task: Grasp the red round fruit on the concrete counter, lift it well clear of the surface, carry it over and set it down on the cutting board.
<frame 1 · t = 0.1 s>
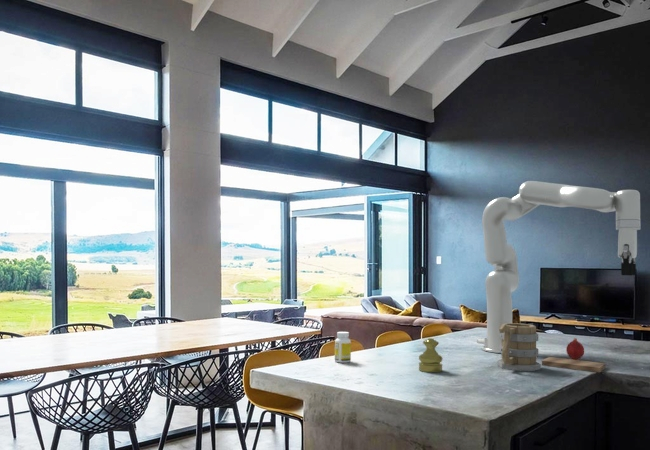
hand: (628, 275, 191), 31 cm above the kitchen island, fingers open, 9 cm apart
tankard: (513, 369, 181), on the kitchen island
supplement bottle: (342, 362, 187), on the kitchen island
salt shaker: (430, 371, 175), on the kitchen island
red round fruit: (575, 361, 197), on the kitchen island
cutting board: (573, 366, 187), on the kitchen island
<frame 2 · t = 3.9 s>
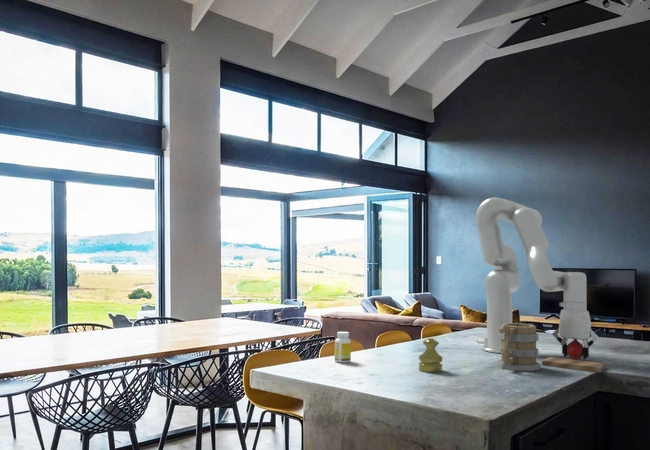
hand: (575, 357, 197), 1 cm above the kitchen island, fingers closed on red round fruit, 5 cm apart
red round fruit: (575, 361, 197), on the kitchen island, touching gripper
everything else where it was.
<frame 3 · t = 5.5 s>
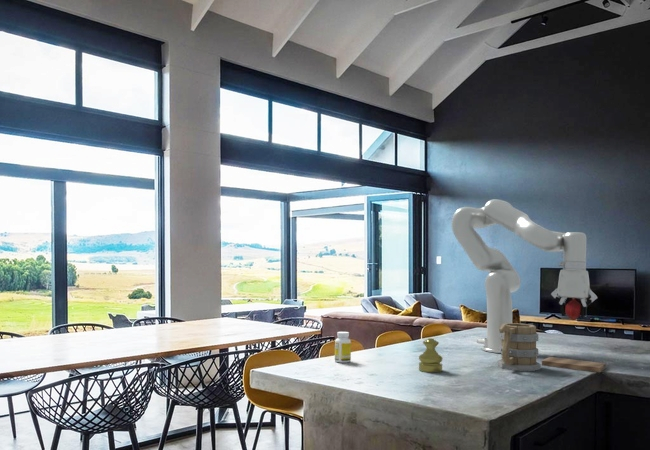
hand: (573, 316, 199), 16 cm above the kitchen island, fingers closed on red round fruit, 5 cm apart
red round fruit: (573, 320, 199), point 14 cm above the kitchen island, touching gripper
everything else where it was.
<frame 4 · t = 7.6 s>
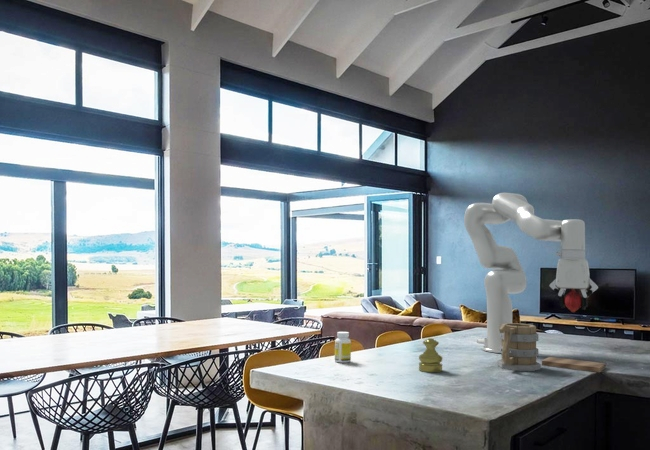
hand: (573, 308, 188), 20 cm above the kitchen island, fingers closed on red round fruit, 5 cm apart
red round fruit: (573, 312, 188), point 18 cm above the kitchen island, touching gripper
everything else where it was.
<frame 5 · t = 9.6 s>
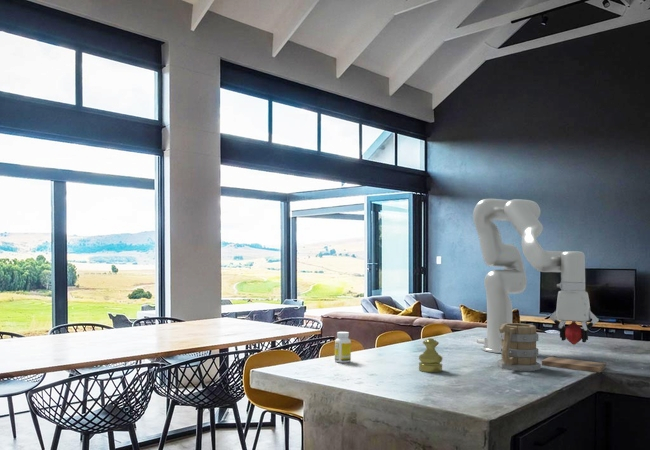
hand: (573, 340, 187), 9 cm above the kitchen island, fingers closed on red round fruit, 5 cm apart
red round fruit: (573, 345, 187), point 7 cm above the kitchen island, touching gripper
everything else where it was.
when the fingers open (4 cm above the kitchen island, at t = 11.4 s): red round fruit stays where it is, resting on cutting board.
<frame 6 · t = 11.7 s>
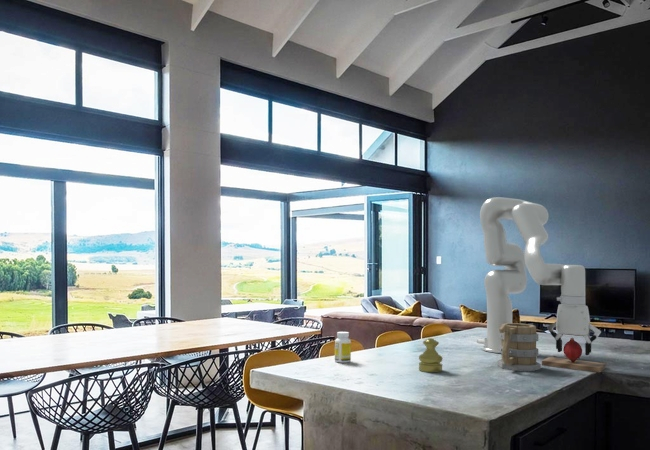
hand: (573, 352, 187), 5 cm above the kitchen island, fingers open, 8 cm apart
red round fruit: (573, 362, 187), point 1 cm above the kitchen island, touching cutting board
everything else where it was.
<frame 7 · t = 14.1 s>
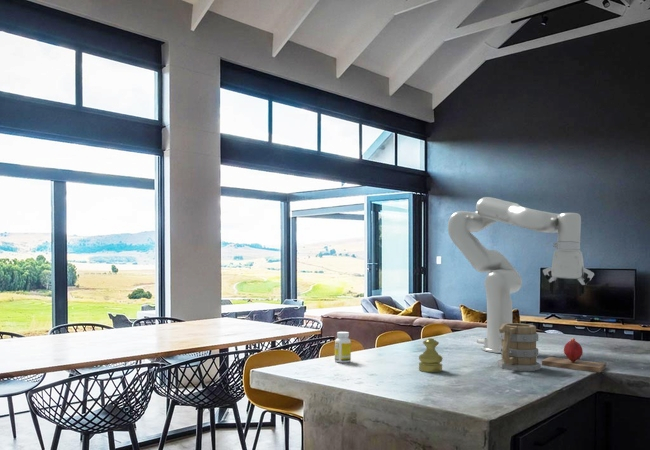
hand: (567, 294, 199), 23 cm above the kitchen island, fingers open, 9 cm apart
nothing on the kitchen island moved.
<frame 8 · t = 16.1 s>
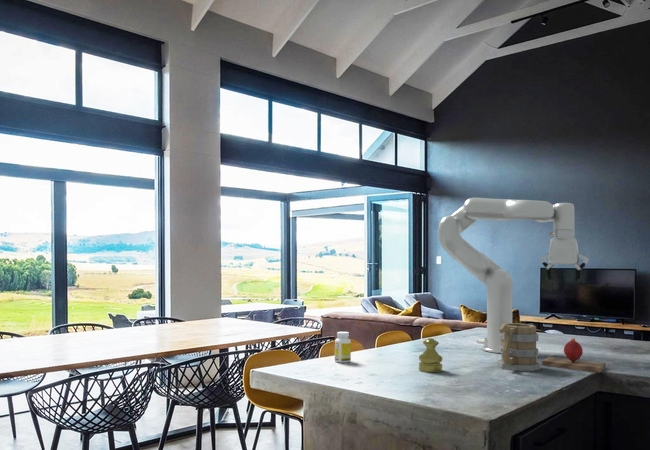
hand: (564, 280, 211), 28 cm above the kitchen island, fingers open, 9 cm apart
nothing on the kitchen island moved.
at the end: red round fruit inside the target area on the cutting board (0.1 cm from its centre), point 1.3 cm above the cutting board's base; the gripper is holding nothing; red round fruit moved 12.1 cm from its start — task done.
